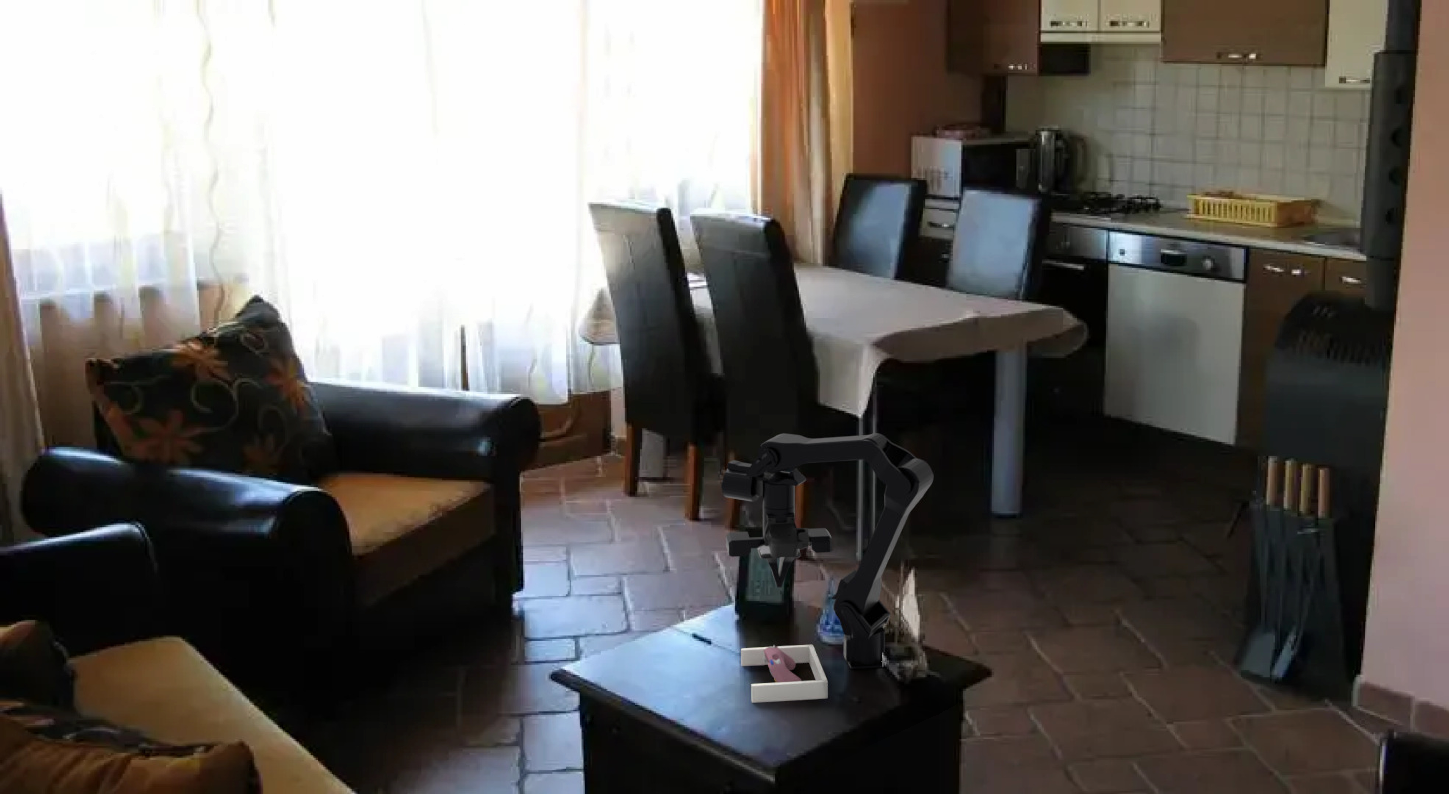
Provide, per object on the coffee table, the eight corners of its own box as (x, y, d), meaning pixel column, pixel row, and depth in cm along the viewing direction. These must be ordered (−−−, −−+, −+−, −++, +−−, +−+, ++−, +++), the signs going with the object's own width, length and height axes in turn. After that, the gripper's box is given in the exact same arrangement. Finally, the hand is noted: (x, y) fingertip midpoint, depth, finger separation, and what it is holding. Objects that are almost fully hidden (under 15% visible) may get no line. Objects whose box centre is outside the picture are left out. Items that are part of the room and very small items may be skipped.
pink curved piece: (774, 677, 265) (756, 645, 263) (796, 665, 265) (779, 633, 263) (782, 701, 255) (763, 668, 253) (805, 689, 255) (787, 656, 253)
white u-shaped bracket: (812, 660, 267) (812, 644, 267) (827, 698, 252) (827, 681, 252) (741, 664, 266) (741, 648, 265) (752, 702, 251) (751, 686, 250)
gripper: (731, 521, 260) (732, 606, 263) (838, 516, 262) (837, 600, 265) (725, 501, 270) (726, 583, 274) (827, 497, 272) (827, 578, 276)
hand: (779, 586), depth 272 cm, fingers closed
